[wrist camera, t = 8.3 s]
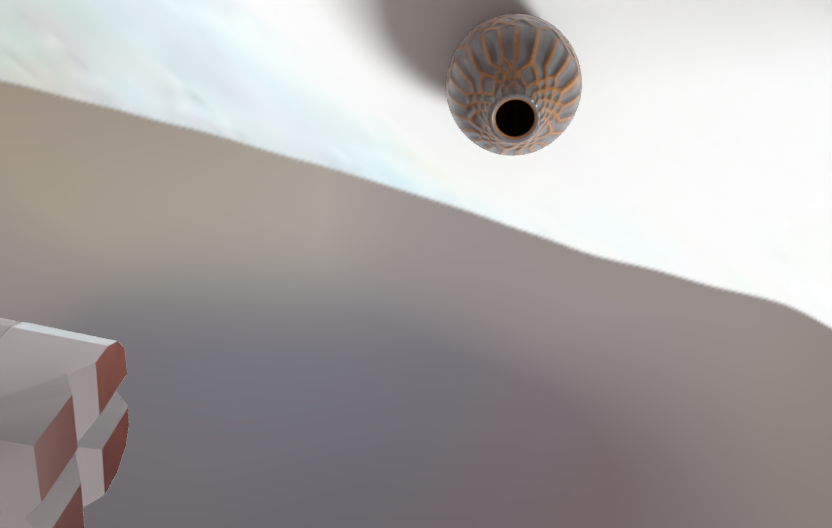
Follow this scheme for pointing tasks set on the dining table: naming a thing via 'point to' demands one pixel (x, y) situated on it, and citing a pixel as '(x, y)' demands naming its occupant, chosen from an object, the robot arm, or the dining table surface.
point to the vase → (513, 84)
